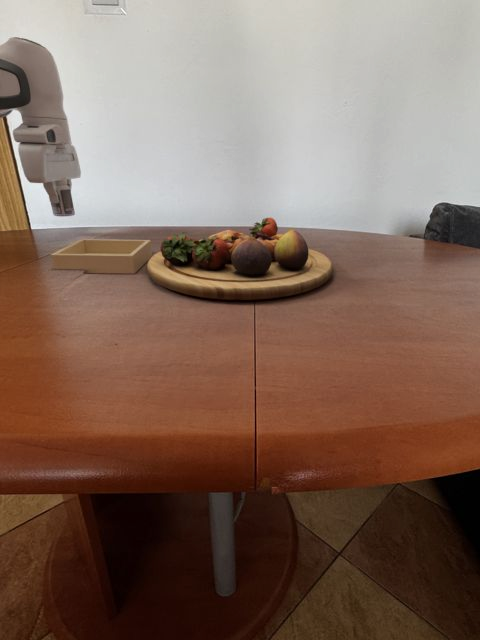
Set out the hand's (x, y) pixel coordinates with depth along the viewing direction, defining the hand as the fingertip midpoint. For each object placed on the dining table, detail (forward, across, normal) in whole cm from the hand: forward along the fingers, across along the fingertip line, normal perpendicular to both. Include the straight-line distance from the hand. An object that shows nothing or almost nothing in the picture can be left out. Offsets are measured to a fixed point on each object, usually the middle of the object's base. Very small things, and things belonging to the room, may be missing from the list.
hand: (61, 201), depth 89 cm
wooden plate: (+7, +31, +44) cm, 54 cm away
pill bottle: (+3, 0, 0) cm, 3 cm away
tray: (+7, +26, +18) cm, 33 cm away
